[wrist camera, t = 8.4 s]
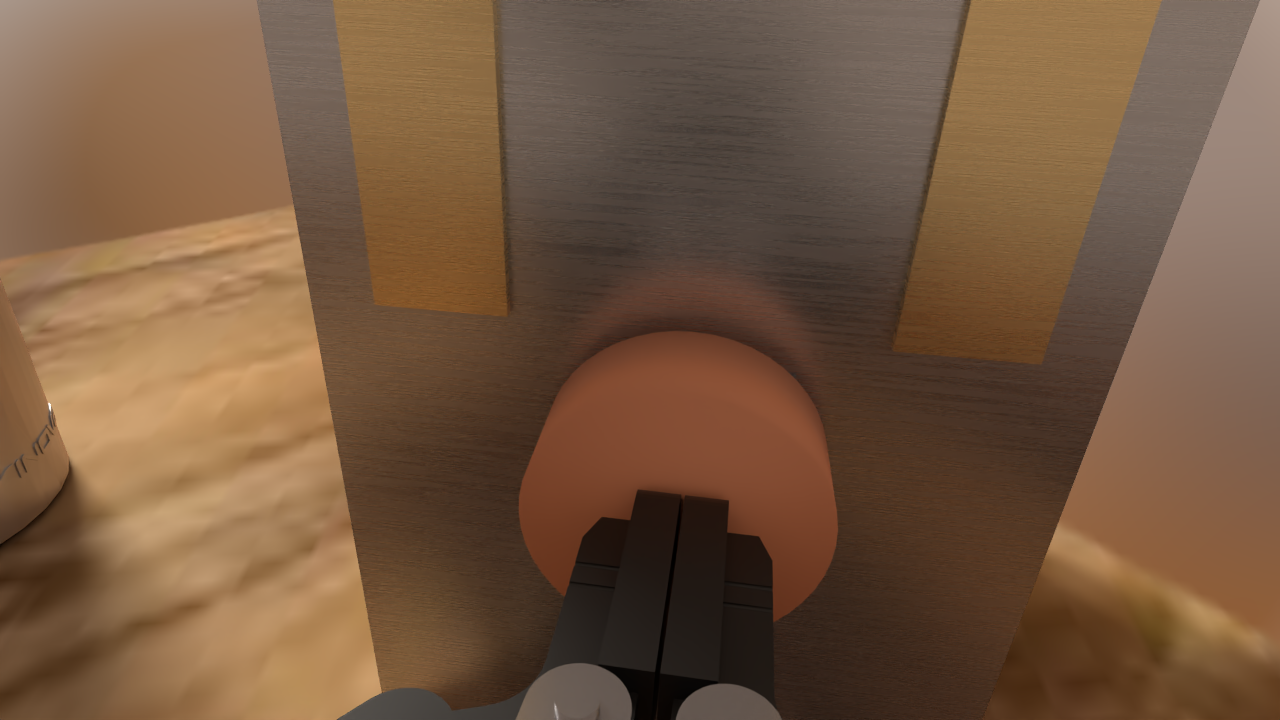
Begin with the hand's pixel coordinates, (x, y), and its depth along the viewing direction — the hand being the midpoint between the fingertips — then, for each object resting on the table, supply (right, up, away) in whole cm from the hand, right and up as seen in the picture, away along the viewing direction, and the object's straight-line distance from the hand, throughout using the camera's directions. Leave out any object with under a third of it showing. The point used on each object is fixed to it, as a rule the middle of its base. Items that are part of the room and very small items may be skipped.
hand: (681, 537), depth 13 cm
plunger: (+1, +1, +7) cm, 7 cm away
